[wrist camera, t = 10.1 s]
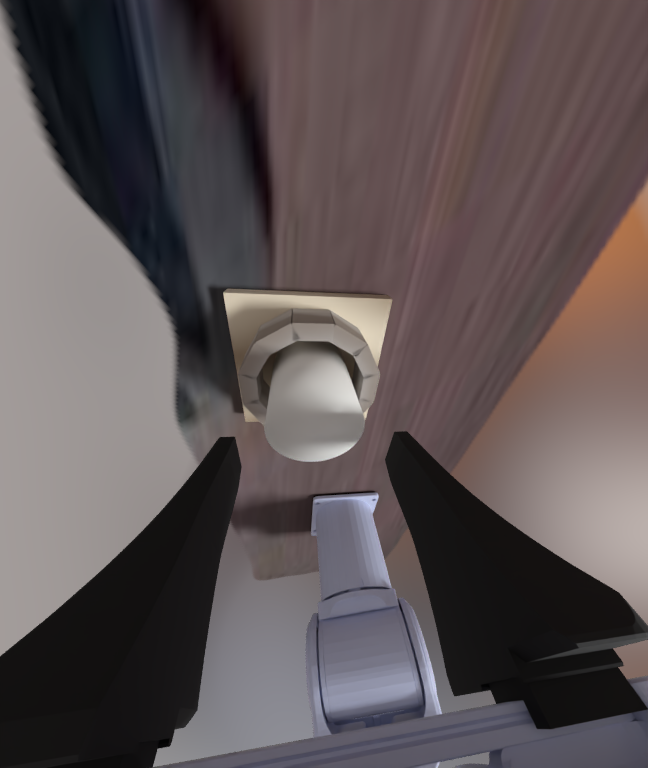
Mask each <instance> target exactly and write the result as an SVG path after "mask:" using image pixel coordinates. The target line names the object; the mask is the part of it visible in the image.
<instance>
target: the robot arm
mask: <svg viewBox="0 0 648 768" xmlns="http://www.w3.org/2000/svg"><path fill="white" fill-rule="evenodd" d="M385 461H386V465H387V469H388V473H389V477H390V481H391V483H392V486H393V489H394V491H395V494H396V497H397V499H398V502H399V504H400V507H401V509H402V512H403V514H404V517H405V520H406V522H407V525H408V527H409V530H410V532H411V535H412V538H413V541H414V544H415V548H416V551H417V554H418V558H419V561H420V565H421V568H422V572H423V575H424V579H425V583H426V586H427V590H428V594H429V598H430V602H431V606H432V610H433V614H434V618H435V622H436V627H437V631H438V636H439V640H440V645H441V649H442V653H443V658H444V663H445V668H446V673H447V677H448V679H449V683H450V686H451V689H452V692H453V694H454V696H460V695H465V694H471V693H476V692H482V691H488V690H491V692H492V694H493V697H494V699H495V702H496V704H493V705H488V706H482V707H477V708H472V709H466V710H461V711H456V712H450V713H445V714H442V712H441V708H440V705H439V701H438V697H437V694H436V692H437V691H436V684H435V679H434V674H433V670H432V666H431V662H430V659H429V655H428V651H427V648H426V645H425V641H424V638H423V635H422V632H421V629H420V626H419V623H418V620H417V618H416V615H415V613H414V610H413V608H412V607H411V605H410V604H409V603H408V602H407V601H405V599H404V598H402V597H401V598H398V599H397V596H396V592H395V589H394V588H393V589H392V587H391V584H390V580H389V576H388V572H387V568H386V565H385V561H384V557H383V553H382V549H381V546H380V542H379V538H378V534H377V530H376V527H375V523H374V519H373V515H372V514H373V511H374V509H375V506H376V503H377V500H378V497H379V496H378V493H359V494H344V495H328V496H316V497H314V498H313V509H312V524H311V535H312V536H317V545H318V560H319V573H320V588H321V602H318V613H314V614H313V615H312V618H311V620H310V622H309V624H308V627H307V633H306V675H307V690H308V697H309V704H310V709H311V713H312V721H313V734H314V738H310V739H304V740H299V741H293V742H288V743H282V744H277V745H272V746H267V747H261V748H255V749H250V750H245V751H239V752H234V753H228V754H223V755H217V756H212V757H207V758H201V759H196V760H190V761H185V762H179V763H174V764H169V765H163V766H158V767H153V764H154V760H155V756H156V752H157V749H158V748H163V747H169V746H170V745H171V742H172V738H173V734H174V730H175V729H179V728H184V727H185V726H186V725H187V724H188V723H189V721H190V720H191V718H192V717H193V716H194V714H195V712H196V711H197V708H198V700H199V692H200V685H201V677H202V670H203V663H204V655H205V648H206V641H207V635H208V628H209V622H210V615H211V609H212V603H213V597H214V591H215V585H216V579H217V574H218V568H219V563H220V558H221V553H222V549H223V545H224V541H225V537H226V533H227V530H228V526H229V522H230V518H231V515H232V511H233V507H234V503H235V500H236V496H237V492H238V487H239V480H240V473H241V462H240V458H239V453H238V448H237V444H236V439H235V437H220V438H219V439H218V440H217V441H216V443H215V444H214V446H213V447H212V448H211V450H210V451H209V453H208V454H207V455H206V457H205V458H204V459H203V461H202V462H201V463H200V465H199V466H198V467H197V469H196V470H195V471H194V472H193V474H192V475H191V476H190V478H189V479H188V480H187V481H186V483H185V484H184V485H183V486H182V487H181V489H180V490H179V491H178V492H177V493H176V495H175V496H174V497H173V498H172V499H171V500H170V502H169V503H168V504H167V505H166V506H165V507H164V508H163V510H162V511H161V512H160V513H159V514H158V515H157V516H156V517H155V518H154V519H153V520H152V521H151V522H150V524H149V525H148V526H147V527H146V528H145V529H144V530H143V531H142V532H141V533H140V534H139V535H138V536H137V537H136V538H135V539H134V540H133V541H132V542H131V543H130V544H129V545H128V546H127V547H126V548H125V549H124V550H123V551H122V552H120V554H118V556H116V557H115V558H114V559H113V560H112V561H111V562H110V563H109V564H108V565H107V566H106V567H105V568H104V569H103V570H101V571H100V572H99V573H98V574H97V575H96V576H95V577H94V578H93V579H91V580H90V581H89V582H88V583H87V584H86V585H85V586H83V587H82V588H81V589H80V590H79V591H78V592H77V593H76V594H74V595H73V596H72V597H71V598H70V599H69V600H67V601H66V602H65V603H64V604H63V605H62V606H61V607H60V608H58V609H57V610H56V611H55V612H54V613H52V614H51V615H50V616H49V617H48V618H47V619H45V620H44V621H43V622H42V623H41V624H39V625H38V626H37V627H36V628H34V629H33V630H32V631H31V632H30V633H28V634H27V635H26V636H25V637H23V638H22V639H21V640H20V641H18V642H17V643H16V644H15V645H14V646H12V647H11V648H10V649H9V650H8V651H6V652H5V653H4V654H2V655H1V656H0V768H438V766H439V763H440V762H442V761H446V760H452V759H456V758H461V757H466V756H471V755H475V754H480V753H485V752H490V753H489V758H490V761H489V765H487V764H463V765H459V766H455V767H453V768H648V676H643V677H638V678H632V679H626V678H625V676H624V675H623V674H622V672H621V671H620V669H619V668H618V667H620V666H623V662H622V661H621V659H620V658H619V657H618V655H617V654H616V652H615V651H614V650H613V648H616V647H620V646H624V645H628V644H632V643H636V642H640V641H644V640H648V625H647V624H646V623H645V622H644V621H643V620H642V619H641V617H640V616H639V615H638V614H637V613H636V612H635V610H634V609H633V608H632V607H631V606H630V605H629V604H628V602H627V601H626V600H625V599H624V598H623V597H622V596H621V595H620V593H619V592H617V591H615V590H613V589H612V588H610V587H609V586H607V585H605V584H603V583H602V582H600V581H599V580H597V579H595V578H593V577H592V576H590V575H588V574H587V573H585V572H583V571H582V570H580V569H578V568H576V567H575V566H573V565H572V564H570V563H568V562H567V561H565V560H563V559H562V558H560V557H559V556H557V555H556V554H554V553H553V552H551V551H550V550H548V549H547V548H545V547H543V546H542V545H540V544H539V543H537V542H536V541H535V540H533V539H532V538H530V537H529V536H527V535H526V534H524V533H523V532H522V531H520V530H518V529H517V528H516V527H514V526H513V525H512V524H510V523H509V522H507V521H506V520H504V519H503V518H502V517H501V516H499V515H498V514H497V513H495V512H494V511H493V510H492V509H490V508H489V507H488V506H487V505H485V504H484V503H483V502H482V501H480V500H479V499H478V498H477V497H475V496H474V495H473V494H472V493H471V492H469V491H468V490H467V489H466V488H465V487H464V486H463V485H461V484H460V483H459V482H458V481H457V480H456V479H454V477H453V476H451V475H450V474H449V473H448V472H447V471H446V470H445V469H444V468H443V467H442V466H441V465H440V464H439V463H438V462H437V461H436V460H435V459H434V458H433V457H432V456H431V455H430V454H429V453H428V452H427V451H426V450H425V449H424V448H423V447H422V446H421V445H420V444H419V443H418V442H417V441H416V440H415V439H414V438H413V437H412V436H411V435H410V434H409V433H408V432H407V431H405V432H394V435H393V438H392V441H391V444H390V447H389V450H388V453H387V456H386V459H385ZM400 710H401V711H400ZM389 712H390V713H389ZM383 713H384V714H383ZM372 715H373V716H372ZM366 716H367V717H366ZM355 718H356V719H355Z"/></svg>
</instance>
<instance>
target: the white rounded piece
mask: <svg viewBox="0 0 648 768" xmlns="http://www.w3.org/2000/svg"><path fill="white" fill-rule="evenodd" d="M364 425H365V419H364V415H363V412H362V409H361V406H360V404H359V401H358V398H357V395H356V392H355V390H354V387H353V384H352V381H351V378H350V376H349V373H348V370H347V367H346V364H345V362H344V359H343V356H342V354H341V352H340V350H339V349H338V348H337V346H336V345H334V344H332V343H331V342H329V341H296V342H294V343H292V344H290V345H288V346H286V347H284V348H282V349H280V350H279V351H278V353H277V355H276V357H275V360H274V366H273V372H272V379H271V386H270V393H269V399H268V406H267V413H266V420H265V426H264V429H265V436H266V439H267V441H268V442H269V444H270V445H271V447H272V448H273V449H274V450H276V451H277V452H278V453H280V454H281V455H283V456H285V457H288V458H290V459H294V460H298V461H306V462H315V461H323V460H328V459H331V458H334V457H337V456H339V455H341V454H343V453H345V452H346V451H348V450H349V449H351V448H352V447H353V446H354V445H355V444H356V443H357V442H358V440H359V439H360V437H361V435H362V433H363V430H364Z"/></svg>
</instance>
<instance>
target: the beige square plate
mask: <svg viewBox="0 0 648 768" xmlns="http://www.w3.org/2000/svg"><path fill="white" fill-rule="evenodd" d="M223 295H224V301H225V307H226V312H227V318H228V324H229V330H230V335H231V341H232V347H233V352H234V358H235V364H236V370H237V375H238V381H239V387H240V392H241V398H242V404H243V410H244V415H245V421H246V422H260V423H261V424H262V425H263V426H265V420H266V413H267V406H268V399H269V393H270V386H271V379H272V372H273V366H274V360H275V357H276V355H277V353H278V351H279V350H280V349H282V348H284V347H286V346H288V345H290V344H292V343H294V342H296V341H329V342H331V343H332V344H334V345H336V346H337V348H338V349H339V350H340V352H341V354H342V356H343V359H344V362H345V364H346V367H347V370H348V373H349V376H350V378H351V381H352V384H353V387H354V390H355V392H356V395H357V398H358V401H359V404H360V406H361V409H362V412H363V415H364V419H366V416H367V411H368V408H369V407H370V406H371V405H372V404H373V402H374V399H375V395H376V390H377V386H378V382H379V377H380V372H379V370H378V367H377V366H378V362H379V357H380V353H381V348H382V344H383V339H384V335H385V330H386V326H387V321H388V317H389V312H390V308H391V303H392V299H391V298H390V297H389V296H388V295H373V294H348V293H324V292H299V291H275V290H250V289H226V290H225V291H224V292H223Z"/></svg>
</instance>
